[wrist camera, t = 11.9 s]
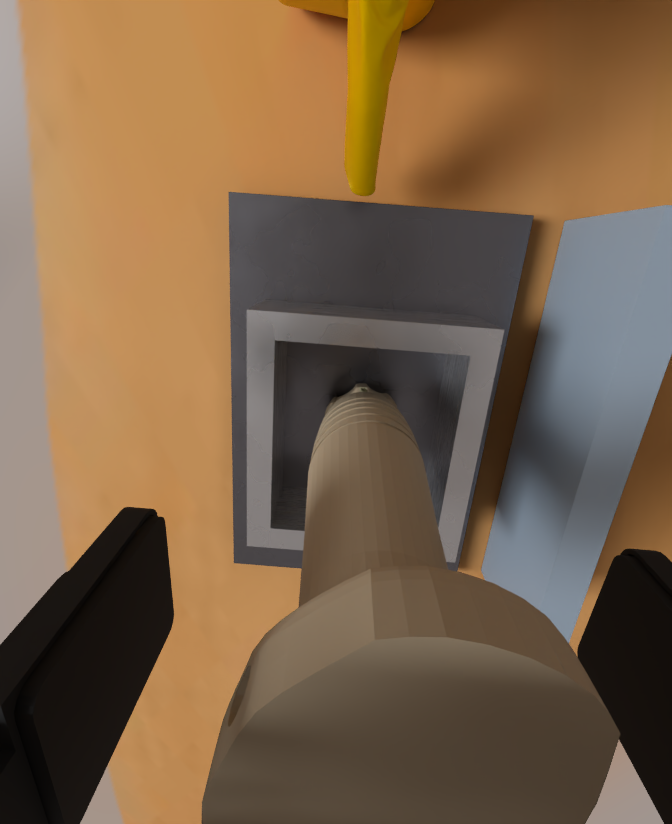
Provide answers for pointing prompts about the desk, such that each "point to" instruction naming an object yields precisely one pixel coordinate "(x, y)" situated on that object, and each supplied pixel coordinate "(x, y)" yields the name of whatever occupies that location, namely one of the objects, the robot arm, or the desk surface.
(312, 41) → the desk surface
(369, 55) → the figure statuette
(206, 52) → the desk surface
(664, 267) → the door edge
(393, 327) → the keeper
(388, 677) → the handle
